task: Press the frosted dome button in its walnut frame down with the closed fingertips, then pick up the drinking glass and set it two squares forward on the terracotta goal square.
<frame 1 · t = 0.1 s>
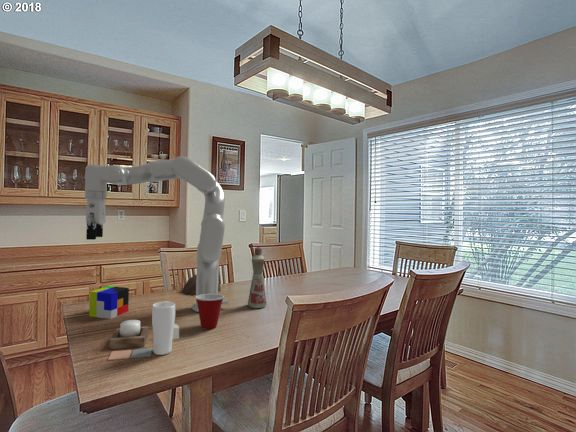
hand: (94, 238, 131), 31 cm above the table, tool pointing down, fingers open, 9 cm apart
puzzle toy: (109, 314, 133), on the table
decorative dome: (202, 291, 174), on the table
pad mid: (141, 353, 99), on the table
plastic cup: (208, 327, 123), on the table
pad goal: (120, 355, 97), on the table
dome button: (130, 328, 107), point 4 cm above the table, slide at 0.0 cm
white cube: (171, 337, 112), on the table
drinking glass: (162, 352, 101), on the table
button frame: (130, 341, 107), on the table
bottle: (257, 306, 151), on the table
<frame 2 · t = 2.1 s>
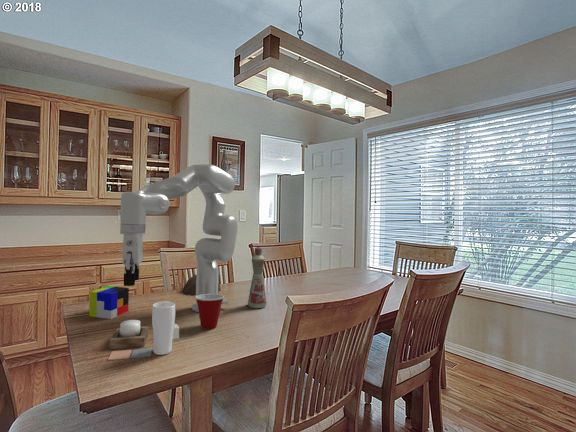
hand: (131, 282, 107), 20 cm above the table, tool pointing down, fingers open, 7 cm apart
nothing on the table moved.
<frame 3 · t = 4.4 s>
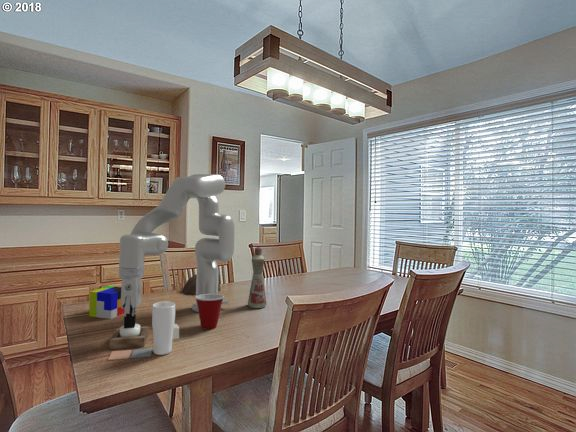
hand: (129, 327, 107), 5 cm above the table, tool pointing down, fingers closed
dome button: (130, 332, 107), point 3 cm above the table, slide at -1.3 cm, touching gripper
everything else where it was.
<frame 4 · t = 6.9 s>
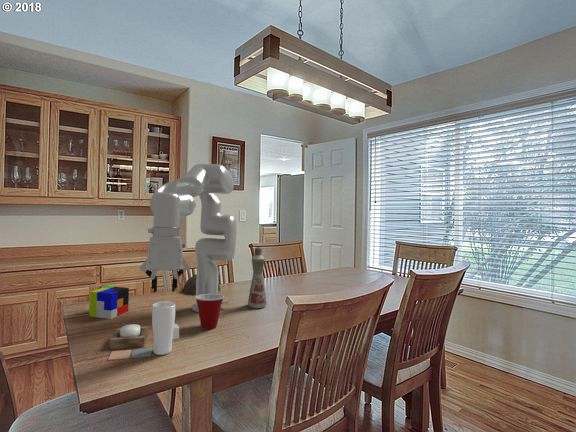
hand: (164, 290, 100), 19 cm above the table, tool pointing down, fingers open, 4 cm apart
dome button: (130, 333, 107), point 3 cm above the table, slide at -1.6 cm
everything else where it was.
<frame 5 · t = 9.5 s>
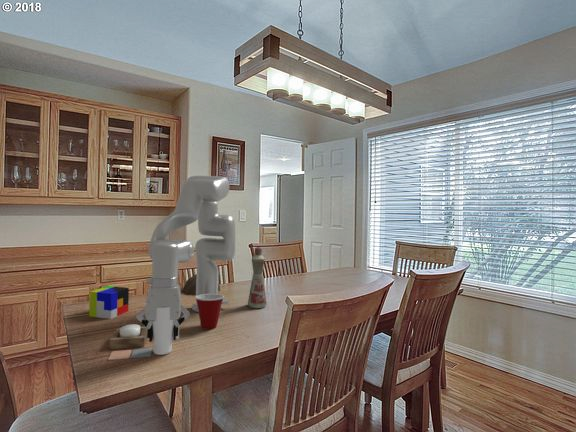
hand: (163, 338, 101), 4 cm above the table, tool pointing down, fingers closed on drinking glass, 6 cm apart
drinking glass: (162, 352, 101), on the table, touching gripper
everything else where it was.
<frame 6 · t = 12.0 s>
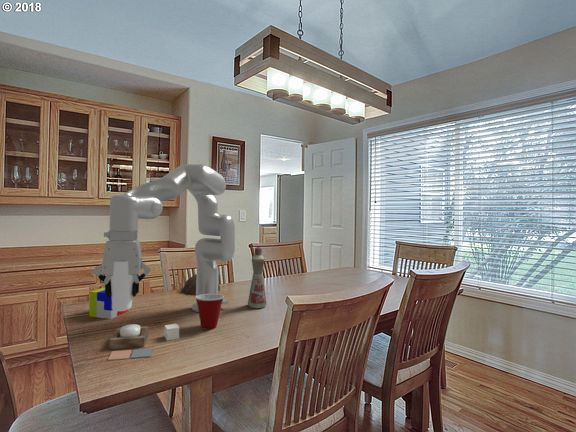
hand: (122, 295, 97), 18 cm above the table, tool pointing down, fingers closed on drinking glass, 6 cm apart
drinking glass: (121, 309, 97), point 14 cm above the table, touching gripper
everything else where it was.
when the fingers open (6 cm above the table, at t = 14.8 s): drinking glass drops 1 cm, resting on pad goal.
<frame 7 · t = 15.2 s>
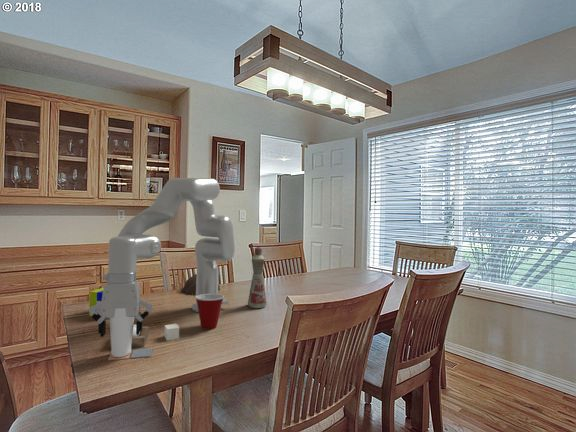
hand: (120, 334, 97), 6 cm above the table, tool pointing down, fingers open, 9 cm apart
drinking glass: (121, 354, 98), resting on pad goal
everything else where it was.
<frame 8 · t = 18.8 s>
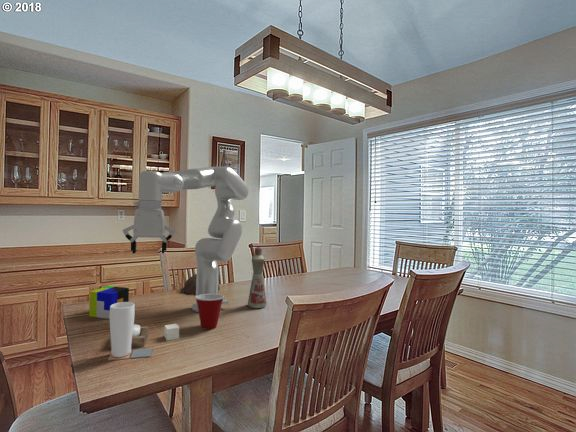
hand: (148, 253, 116), 28 cm above the table, tool pointing down, fingers open, 9 cm apart
nothing on the table moved.
at the end: drinking glass 0.3 cm off-centre on the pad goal, point 0.1 cm above the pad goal's base; drinking glass tilted 0°; dome button slide at -1.6 cm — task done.
